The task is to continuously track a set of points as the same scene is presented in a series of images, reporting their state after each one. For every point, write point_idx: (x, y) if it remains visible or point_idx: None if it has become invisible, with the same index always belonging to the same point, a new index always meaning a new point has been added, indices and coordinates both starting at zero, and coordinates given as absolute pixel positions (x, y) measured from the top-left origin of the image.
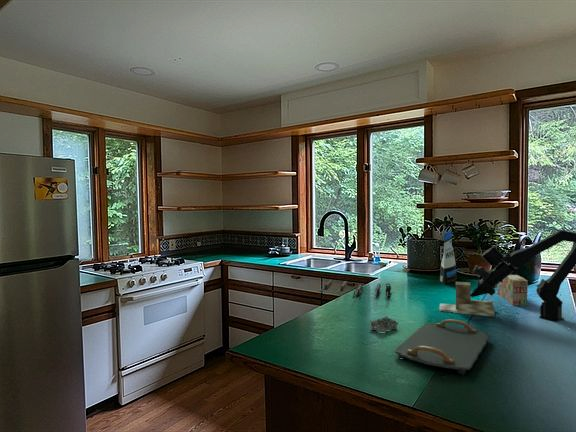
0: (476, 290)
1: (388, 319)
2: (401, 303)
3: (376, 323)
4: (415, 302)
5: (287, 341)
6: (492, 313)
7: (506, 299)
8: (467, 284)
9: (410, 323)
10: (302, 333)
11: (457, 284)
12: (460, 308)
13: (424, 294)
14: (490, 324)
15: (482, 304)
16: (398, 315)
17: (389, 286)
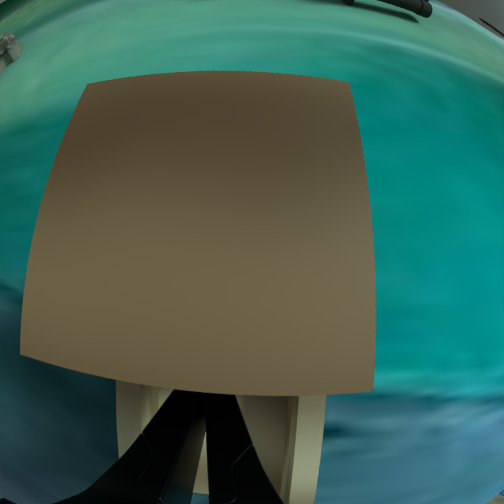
0: (136, 451)
1: (10, 46)
2: (275, 18)
3: (1, 43)
4: (320, 54)
5: (2, 12)
6: None
7: (497, 499)
8: (96, 300)
9: (16, 89)
10: (23, 3)
11: (86, 104)
12: None
13: (478, 115)
14: (5, 398)
15: (290, 448)
16: (96, 38)
17: (422, 2)
